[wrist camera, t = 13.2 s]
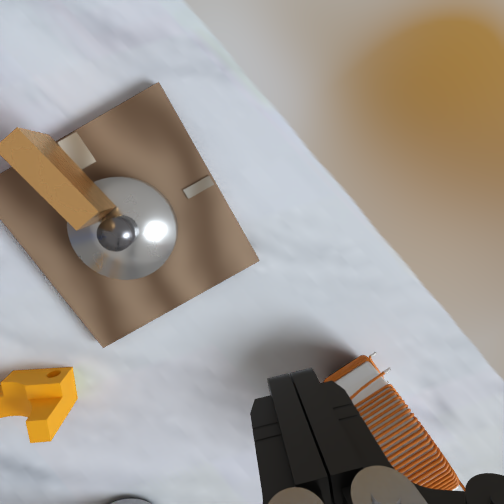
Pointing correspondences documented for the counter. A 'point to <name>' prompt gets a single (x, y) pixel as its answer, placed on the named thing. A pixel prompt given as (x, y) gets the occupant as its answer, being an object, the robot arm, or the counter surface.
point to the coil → (395, 426)
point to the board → (161, 177)
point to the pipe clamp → (39, 399)
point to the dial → (97, 208)
